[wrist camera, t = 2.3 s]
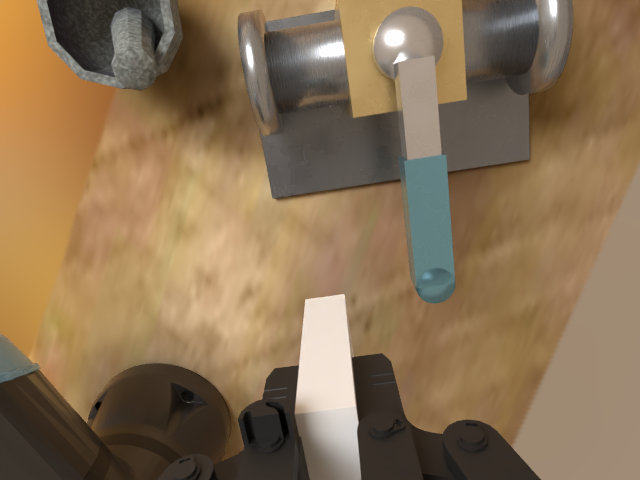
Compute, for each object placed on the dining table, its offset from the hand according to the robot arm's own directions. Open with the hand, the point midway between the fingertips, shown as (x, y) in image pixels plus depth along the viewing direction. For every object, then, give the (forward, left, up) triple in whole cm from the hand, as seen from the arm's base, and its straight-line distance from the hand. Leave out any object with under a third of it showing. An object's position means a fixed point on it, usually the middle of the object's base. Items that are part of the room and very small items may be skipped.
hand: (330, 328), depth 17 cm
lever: (+7, +3, -17) cm, 18 cm away
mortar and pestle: (-13, +16, -26) cm, 34 cm away
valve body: (+7, +8, -26) cm, 28 cm away
